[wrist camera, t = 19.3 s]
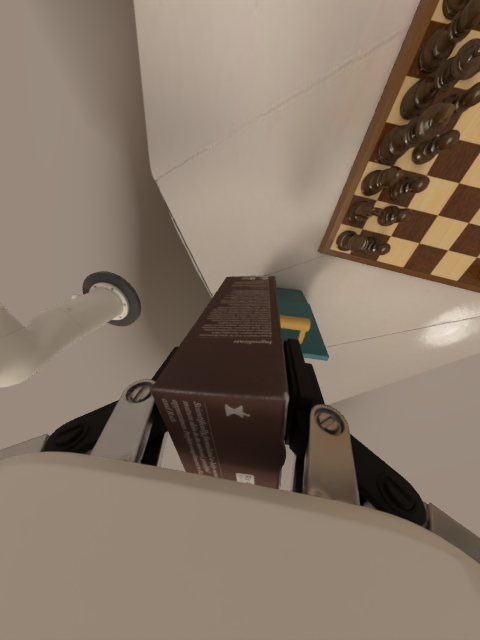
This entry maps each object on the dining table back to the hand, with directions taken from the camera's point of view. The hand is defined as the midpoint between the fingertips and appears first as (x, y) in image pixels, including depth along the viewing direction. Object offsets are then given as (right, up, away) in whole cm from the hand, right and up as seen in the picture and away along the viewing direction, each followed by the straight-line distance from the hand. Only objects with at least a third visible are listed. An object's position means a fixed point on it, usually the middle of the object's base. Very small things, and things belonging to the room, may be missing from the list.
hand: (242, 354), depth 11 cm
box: (+1, +3, +6) cm, 7 cm away
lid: (+7, +1, +21) cm, 23 cm away
